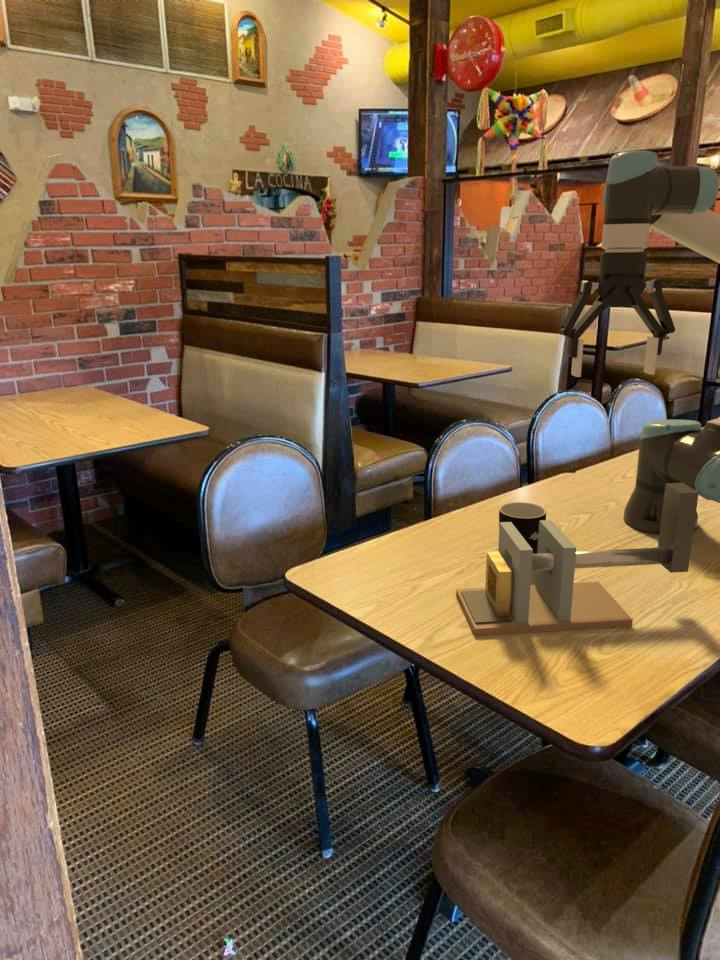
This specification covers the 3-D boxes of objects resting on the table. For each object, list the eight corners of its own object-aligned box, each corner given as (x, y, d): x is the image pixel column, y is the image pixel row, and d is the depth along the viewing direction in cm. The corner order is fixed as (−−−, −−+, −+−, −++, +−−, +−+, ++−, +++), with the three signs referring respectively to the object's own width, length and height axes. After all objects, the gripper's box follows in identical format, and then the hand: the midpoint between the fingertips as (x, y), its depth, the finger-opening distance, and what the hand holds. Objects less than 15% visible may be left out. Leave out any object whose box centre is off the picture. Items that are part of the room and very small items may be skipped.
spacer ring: (496, 593, 126) (498, 551, 123) (509, 615, 118) (511, 571, 116) (485, 594, 126) (486, 551, 123) (497, 616, 118) (499, 572, 115)
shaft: (673, 559, 125) (682, 482, 120) (687, 571, 120) (698, 492, 116) (520, 567, 123) (524, 489, 118) (529, 580, 118) (534, 499, 114)
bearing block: (597, 587, 130) (604, 515, 126) (631, 626, 117) (640, 546, 113) (456, 595, 128) (458, 522, 124) (474, 635, 115) (477, 555, 111)
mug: (529, 571, 137) (532, 521, 134) (488, 559, 143) (490, 511, 140) (557, 551, 146) (561, 504, 143) (518, 540, 152) (520, 495, 149)
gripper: (683, 249, 128) (669, 369, 134) (545, 252, 126) (538, 373, 132) (705, 249, 121) (689, 375, 127) (560, 252, 119) (552, 380, 125)
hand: (612, 374), depth 130 cm, fingers open, 13 cm apart
